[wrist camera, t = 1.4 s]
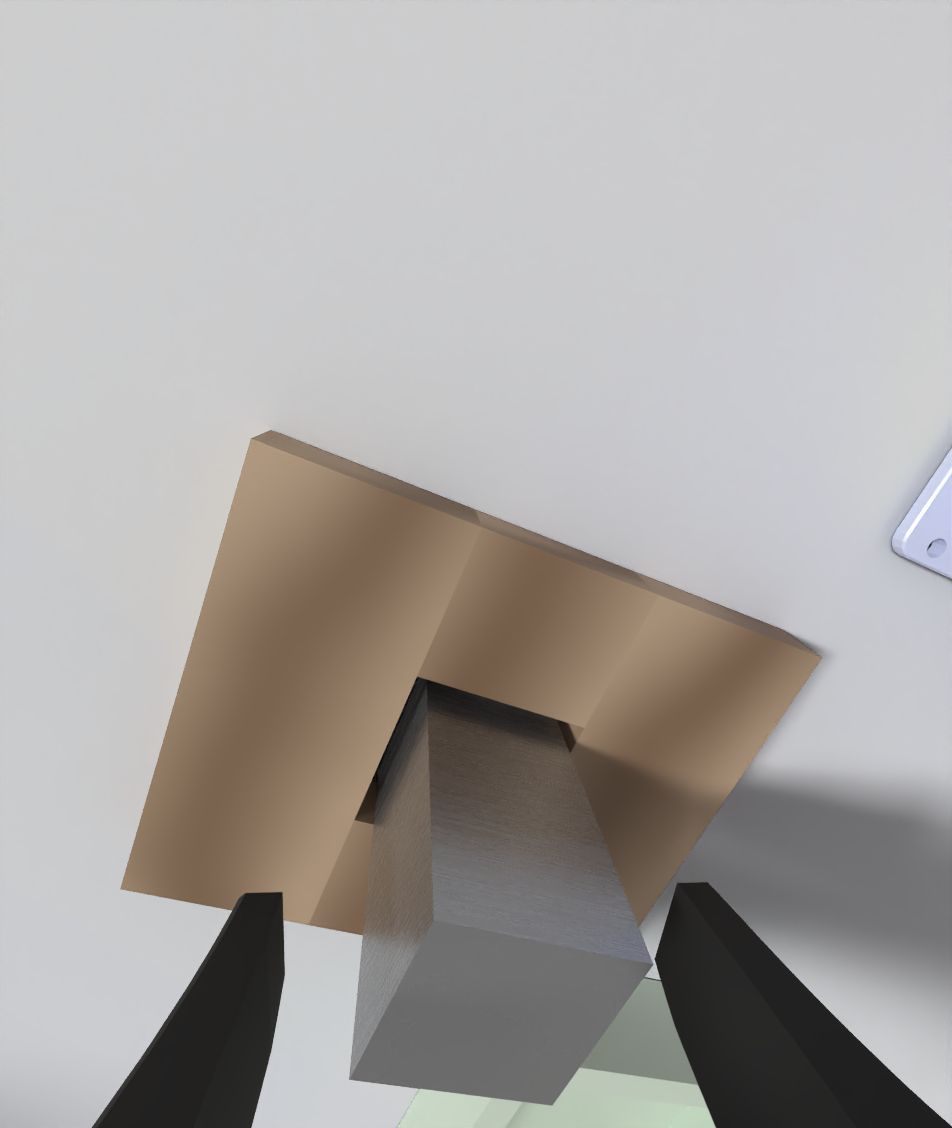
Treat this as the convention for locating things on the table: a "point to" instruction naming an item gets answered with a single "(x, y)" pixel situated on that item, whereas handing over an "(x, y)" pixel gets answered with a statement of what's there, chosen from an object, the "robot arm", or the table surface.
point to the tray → (596, 1083)
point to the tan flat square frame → (437, 653)
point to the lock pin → (487, 908)
